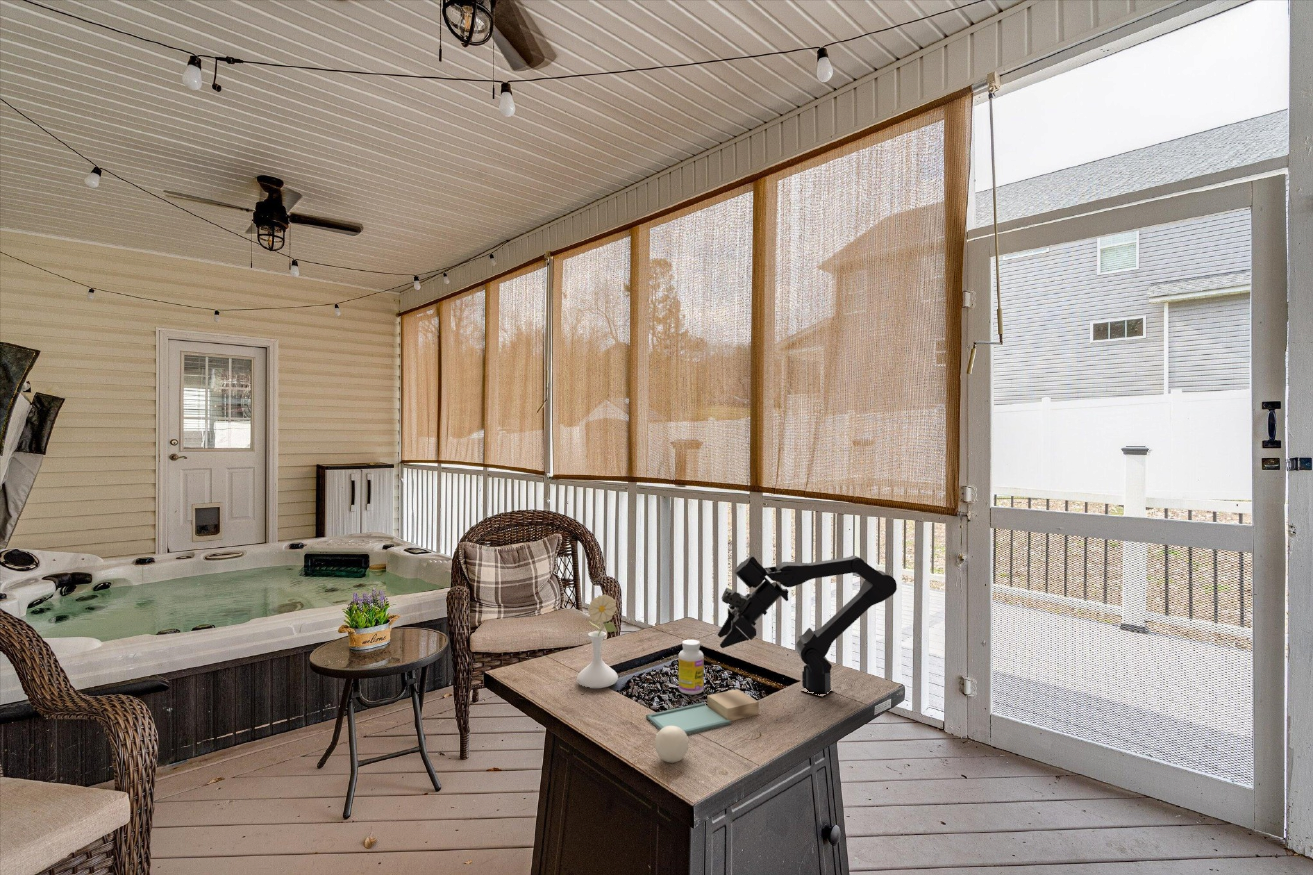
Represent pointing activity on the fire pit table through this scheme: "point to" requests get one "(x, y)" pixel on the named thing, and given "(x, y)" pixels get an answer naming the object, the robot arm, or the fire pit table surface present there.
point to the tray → (688, 718)
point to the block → (733, 704)
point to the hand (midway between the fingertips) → (719, 641)
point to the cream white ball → (671, 744)
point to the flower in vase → (599, 645)
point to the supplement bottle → (691, 668)
